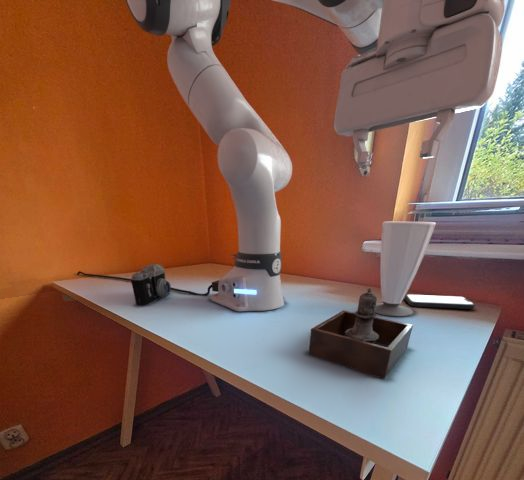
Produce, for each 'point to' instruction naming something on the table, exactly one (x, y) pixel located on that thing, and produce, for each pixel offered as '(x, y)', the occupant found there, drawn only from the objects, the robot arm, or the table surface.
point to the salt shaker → (364, 319)
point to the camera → (150, 285)
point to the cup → (400, 262)
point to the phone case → (439, 301)
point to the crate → (360, 344)
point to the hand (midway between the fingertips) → (392, 162)
